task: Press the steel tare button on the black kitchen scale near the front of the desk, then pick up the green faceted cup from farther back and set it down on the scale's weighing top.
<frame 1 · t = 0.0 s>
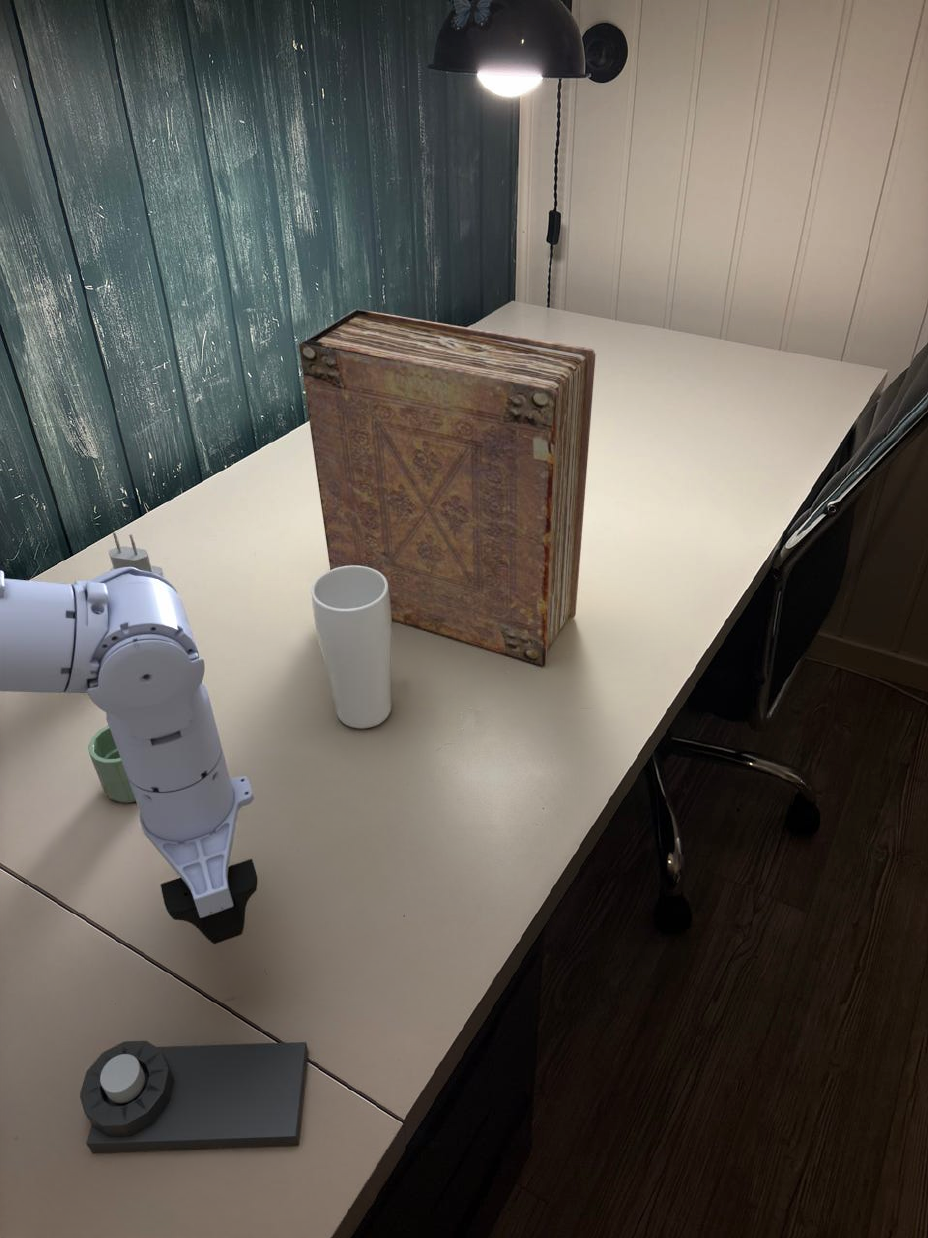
hand: (215, 890, 64), 7 cm above the table, tool pointing down, fingers open, 7 cm apart
book: (453, 611, 100), on the table
power adapter: (150, 628, 99), on the table
tare button: (122, 1078, 58), point 3 cm above the table, slide at 0.1 cm
scale: (204, 1100, 60), on the table
drinking glass: (364, 713, 88), on the table
green faceted cup: (133, 784, 81), on the table
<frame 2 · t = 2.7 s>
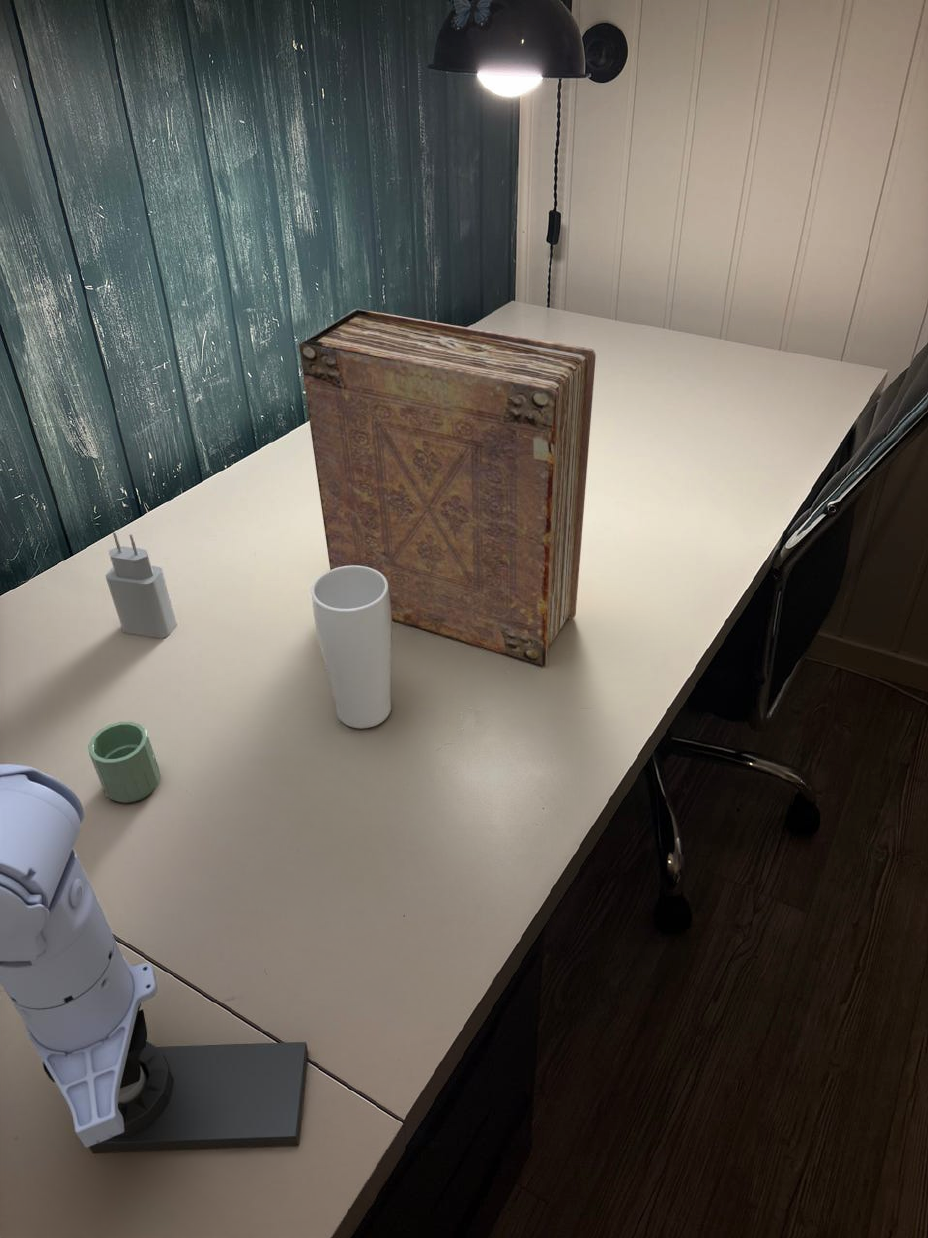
hand: (122, 1077, 58), 4 cm above the table, tool pointing down, fingers closed, pressing on tare button
tare button: (125, 1082, 58), point 3 cm above the table, slide at -0.4 cm, touching gripper
everything else where it was.
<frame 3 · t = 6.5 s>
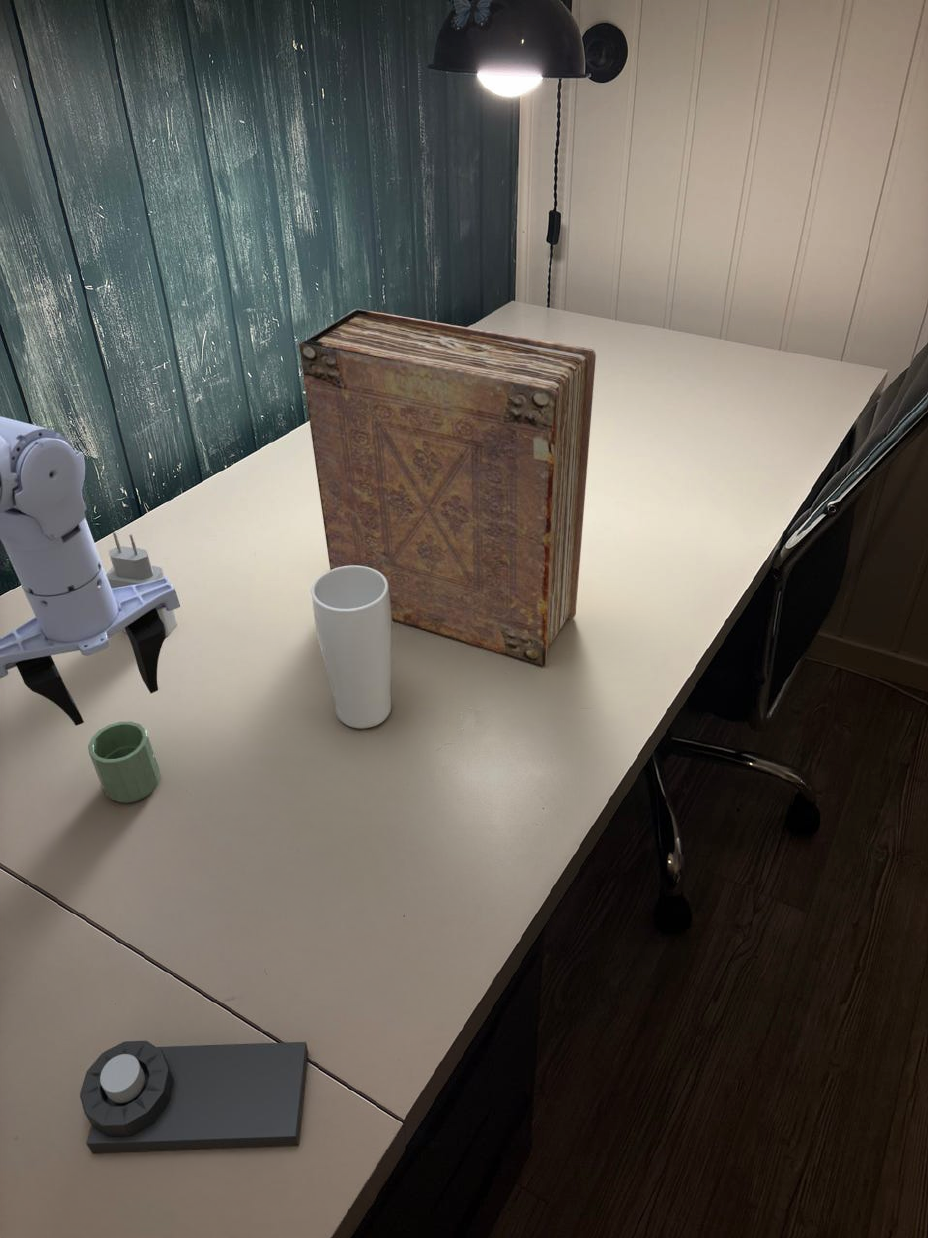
hand: (114, 700, 76), 9 cm above the table, tool pointing down, fingers open, 6 cm apart
tare button: (122, 1078, 58), point 3 cm above the table, slide at 0.1 cm
everything else where it was.
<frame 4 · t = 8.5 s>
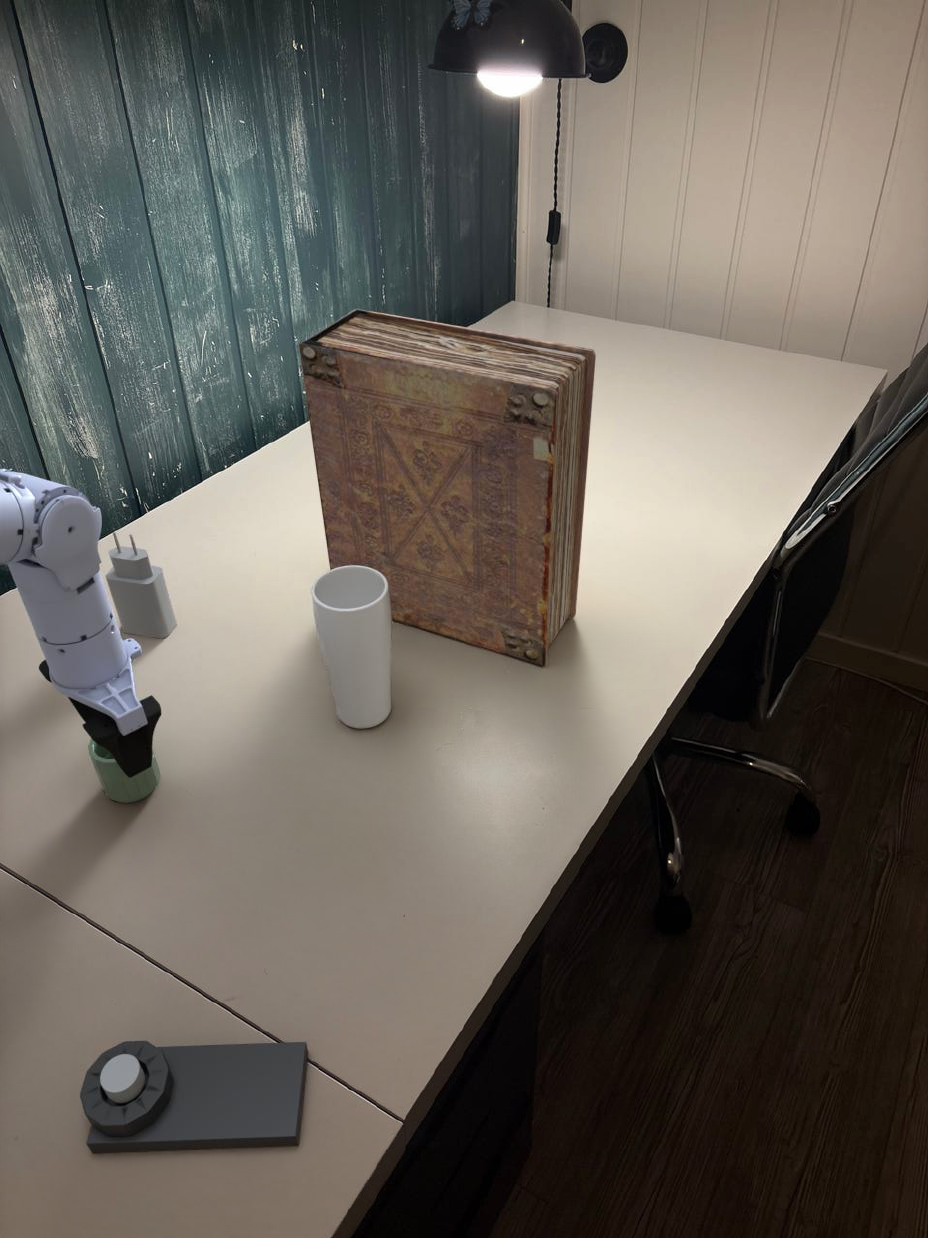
hand: (119, 744, 78), 5 cm above the table, tool pointing down, fingers open, 7 cm apart
nothing on the table moved.
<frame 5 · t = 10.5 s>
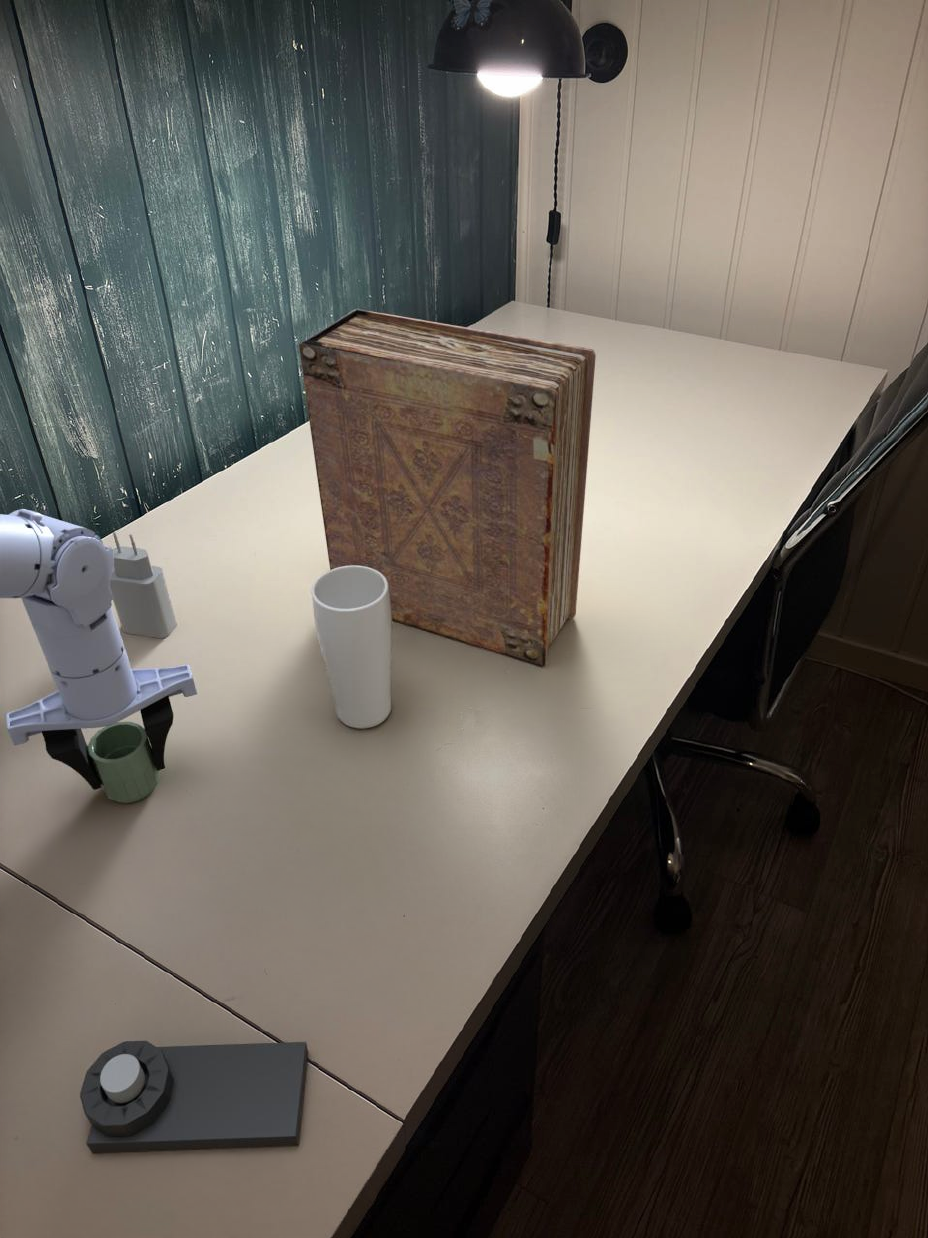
hand: (128, 771, 80), 2 cm above the table, tool pointing down, fingers closed on green faceted cup, 5 cm apart
green faceted cup: (133, 784, 81), on the table, touching gripper
everything else where it was.
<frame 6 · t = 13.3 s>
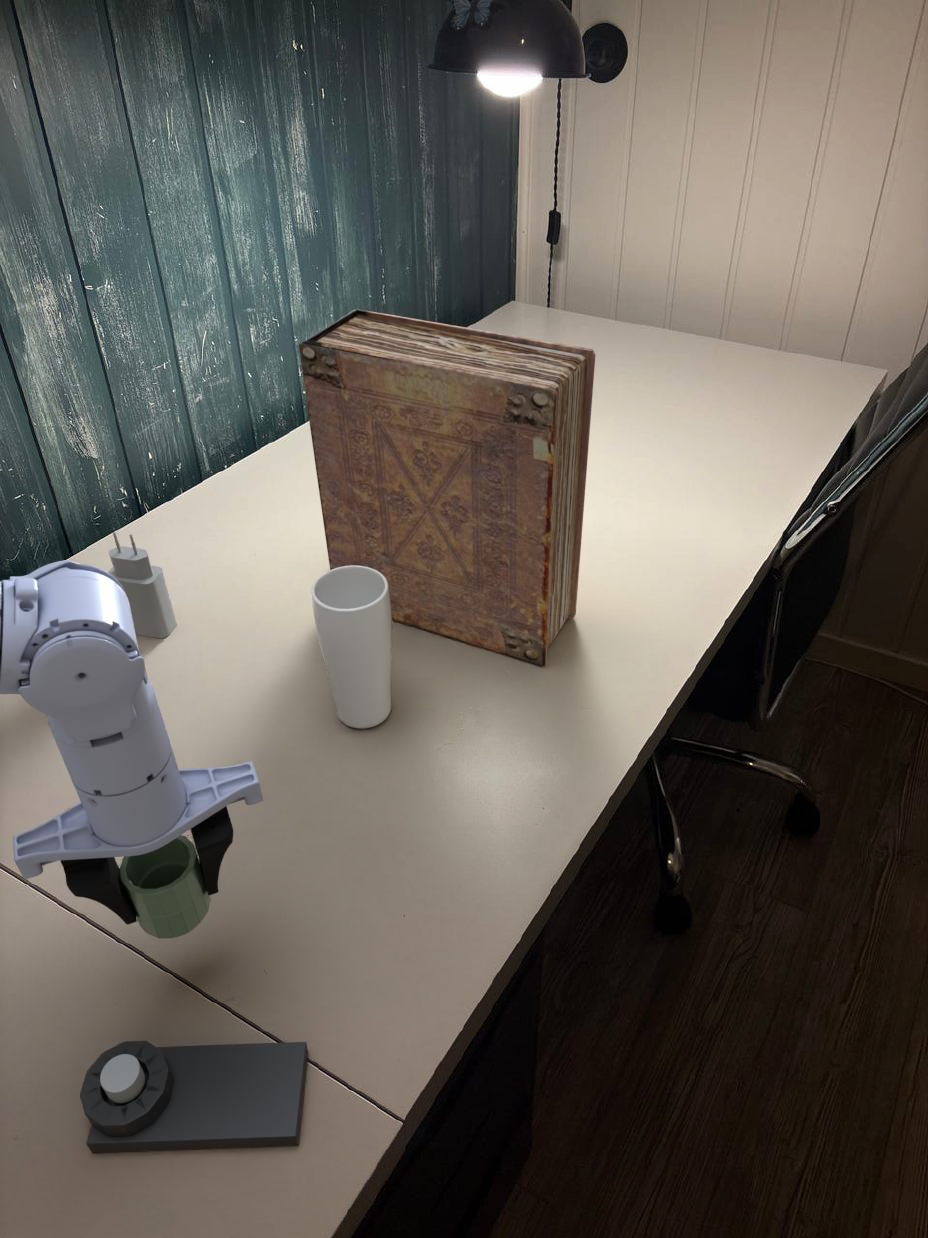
hand: (171, 896, 62), 9 cm above the table, tool pointing down, fingers closed on green faceted cup, 5 cm apart
green faceted cup: (176, 911, 63), point 7 cm above the table, touching gripper
everything else where it was.
when the fingers open (3 cm above the table, at t = 16.5 s): green faceted cup stays where it is, resting on scale.
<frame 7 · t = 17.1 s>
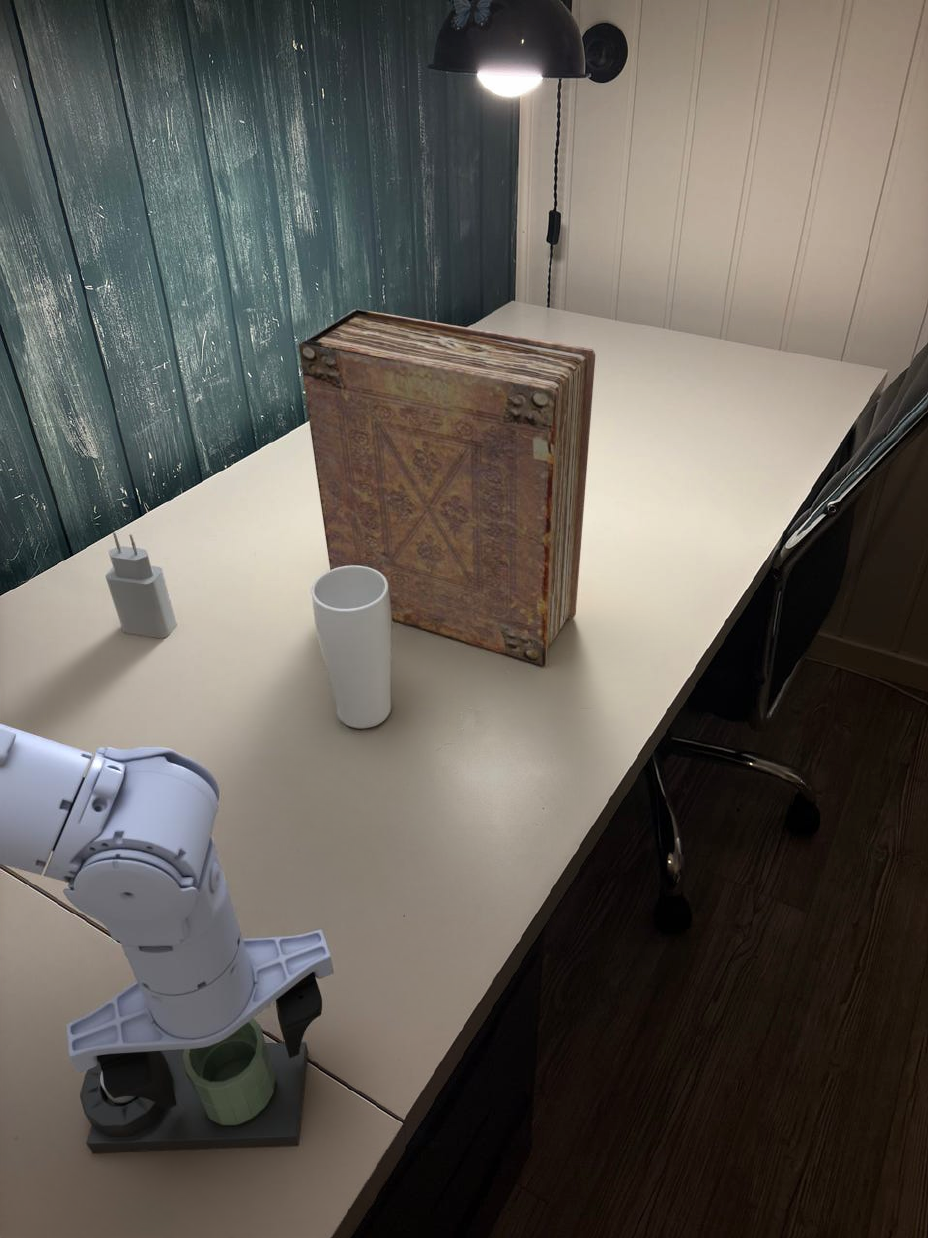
hand: (230, 1066, 57), 4 cm above the table, tool pointing down, fingers open, 7 cm apart
green faceted cup: (238, 1089, 59), point 1 cm above the table, touching scale
everything else where it was.
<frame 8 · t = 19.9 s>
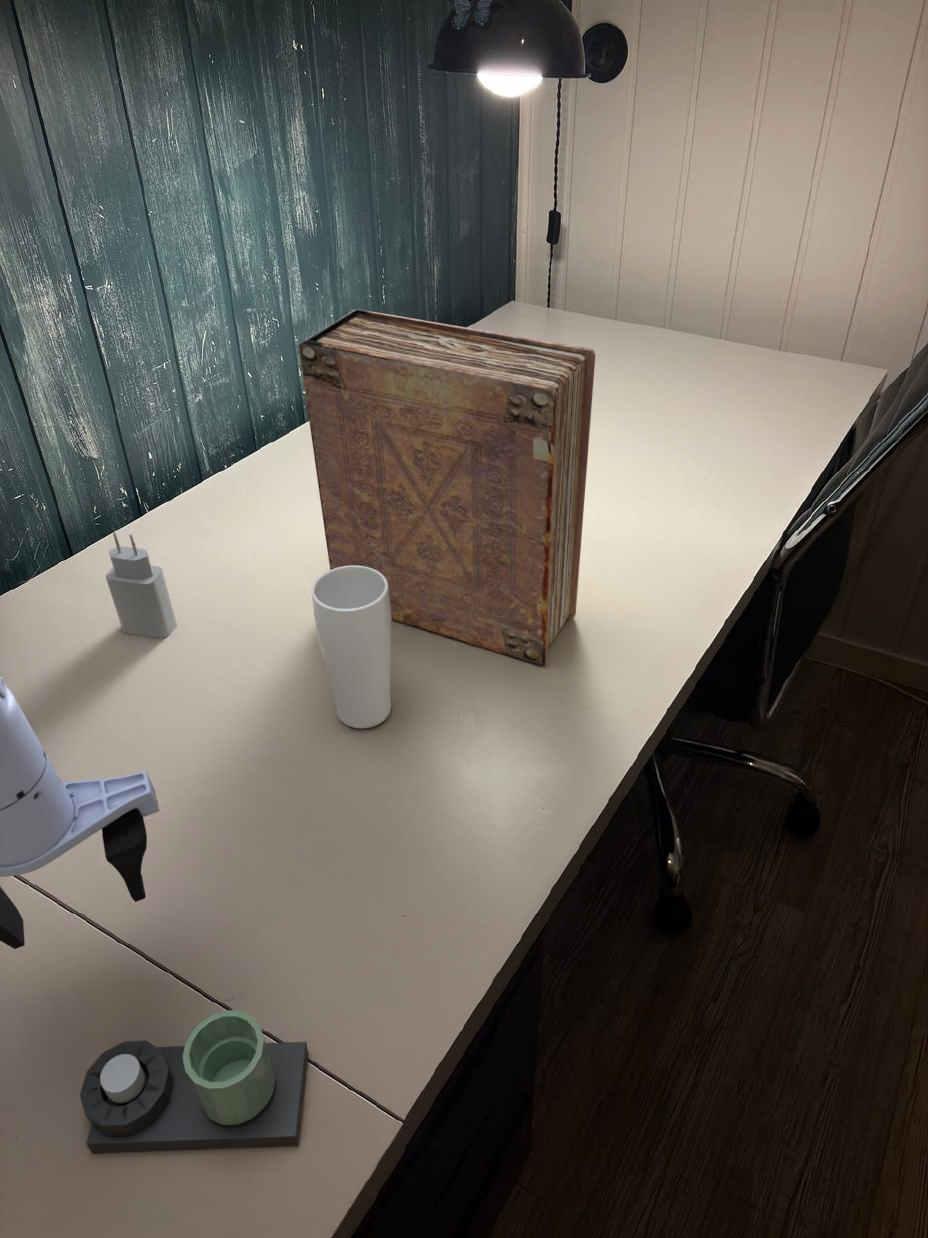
hand: (79, 911, 60), 10 cm above the table, tool pointing down, fingers open, 7 cm apart
nothing on the table moved.
at the end: tare button pushed in 1.0 cm at the most during the clip, back to where it started at the end; green faceted cup inside the target area on the scale (0.2 cm from its centre), point 1.4 cm above the scale's base; green faceted cup touching scale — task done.
